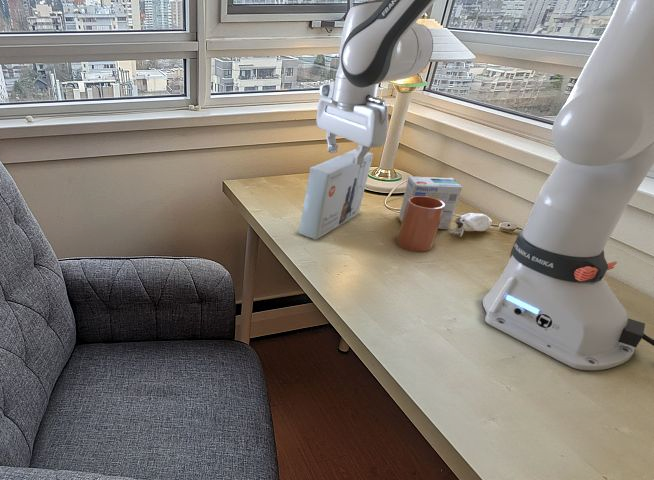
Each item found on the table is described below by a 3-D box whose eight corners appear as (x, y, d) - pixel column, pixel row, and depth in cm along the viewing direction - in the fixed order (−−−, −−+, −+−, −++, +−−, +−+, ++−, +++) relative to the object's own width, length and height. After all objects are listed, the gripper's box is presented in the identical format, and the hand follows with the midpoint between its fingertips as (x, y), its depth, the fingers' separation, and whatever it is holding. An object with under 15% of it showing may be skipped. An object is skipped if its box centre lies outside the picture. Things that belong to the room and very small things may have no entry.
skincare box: (318, 241, 108) (329, 173, 100) (297, 234, 112) (306, 167, 103) (361, 214, 121) (374, 151, 113) (341, 208, 124) (353, 147, 116)
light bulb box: (440, 218, 119) (453, 176, 113) (449, 230, 114) (464, 186, 108) (396, 216, 120) (407, 175, 114) (403, 228, 115) (415, 184, 109)
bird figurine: (469, 246, 110) (497, 227, 113) (469, 220, 106) (497, 201, 109) (450, 241, 114) (477, 223, 117) (449, 216, 110) (476, 198, 113)
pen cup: (439, 248, 106) (452, 205, 101) (413, 253, 104) (425, 210, 98) (415, 234, 112) (426, 193, 106) (389, 239, 109) (400, 198, 104)
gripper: (402, 99, 93) (386, 169, 100) (338, 83, 109) (329, 145, 116) (375, 101, 91) (362, 173, 98) (315, 85, 107) (307, 148, 114)
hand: (344, 157), depth 107 cm, fingers open, 8 cm apart
